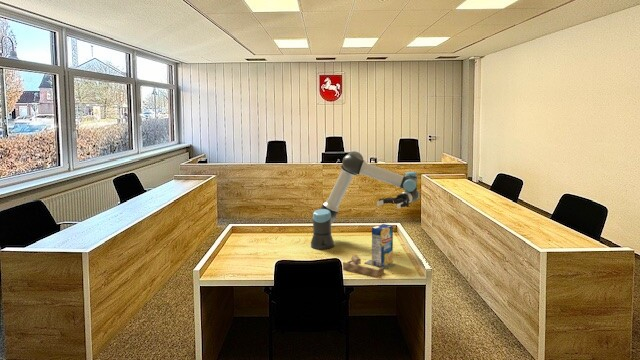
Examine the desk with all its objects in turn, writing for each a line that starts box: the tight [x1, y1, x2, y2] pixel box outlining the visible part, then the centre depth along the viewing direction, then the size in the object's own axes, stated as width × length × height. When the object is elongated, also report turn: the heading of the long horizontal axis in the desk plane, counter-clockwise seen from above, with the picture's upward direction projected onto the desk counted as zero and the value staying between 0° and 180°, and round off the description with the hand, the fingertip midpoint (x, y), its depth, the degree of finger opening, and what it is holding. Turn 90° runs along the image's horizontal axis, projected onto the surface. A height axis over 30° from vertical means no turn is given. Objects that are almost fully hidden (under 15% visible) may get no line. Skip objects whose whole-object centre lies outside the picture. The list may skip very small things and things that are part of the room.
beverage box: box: [371, 223, 394, 268], centre depth 308 cm, size 7×11×22 cm, turn 136°
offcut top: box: [351, 254, 362, 265], centre depth 305 cm, size 3×7×3 cm, turn 17°
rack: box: [342, 260, 385, 278], centre depth 299 cm, size 22×8×4 cm, turn 54°
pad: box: [363, 259, 395, 269], centre depth 309 cm, size 16×7×1 cm, turn 54°
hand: (387, 205), depth 317 cm, fingers open, 13 cm apart
